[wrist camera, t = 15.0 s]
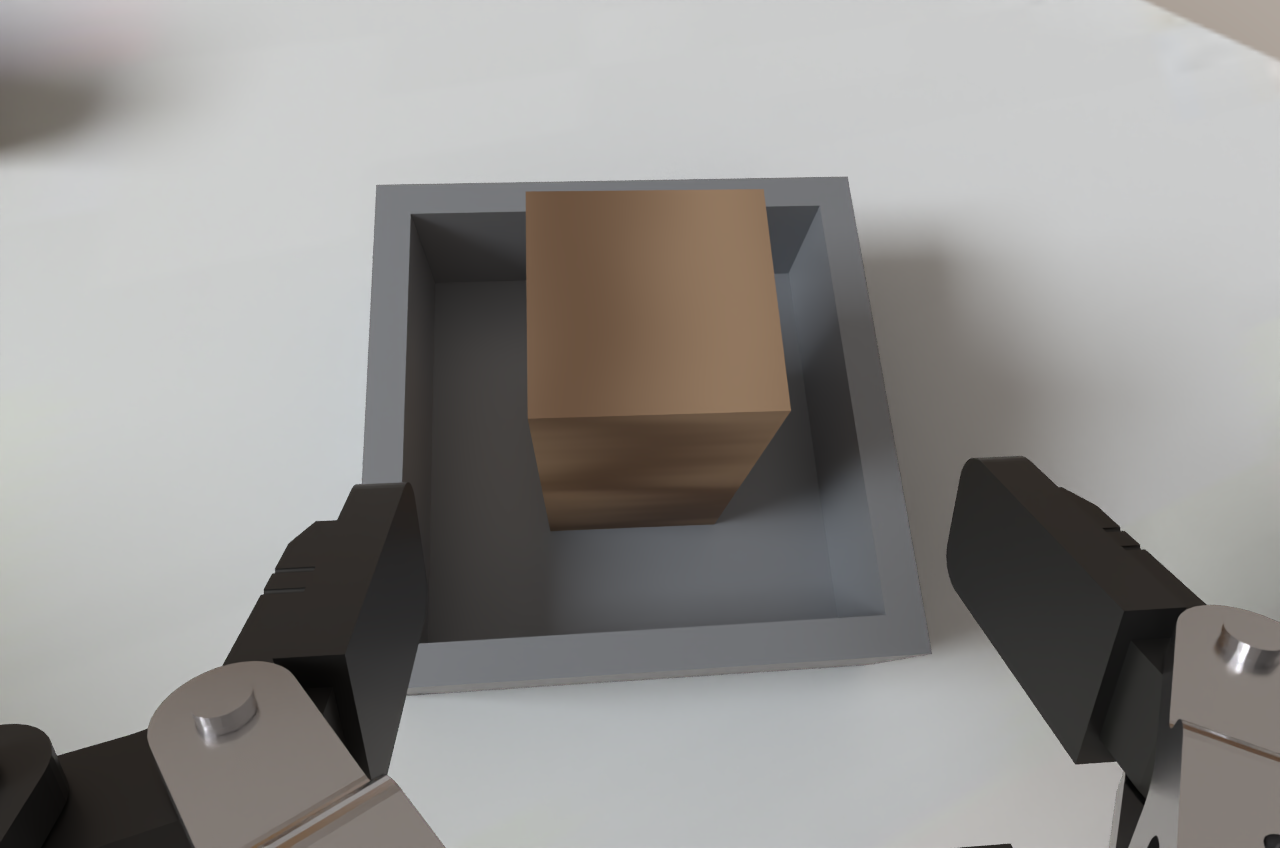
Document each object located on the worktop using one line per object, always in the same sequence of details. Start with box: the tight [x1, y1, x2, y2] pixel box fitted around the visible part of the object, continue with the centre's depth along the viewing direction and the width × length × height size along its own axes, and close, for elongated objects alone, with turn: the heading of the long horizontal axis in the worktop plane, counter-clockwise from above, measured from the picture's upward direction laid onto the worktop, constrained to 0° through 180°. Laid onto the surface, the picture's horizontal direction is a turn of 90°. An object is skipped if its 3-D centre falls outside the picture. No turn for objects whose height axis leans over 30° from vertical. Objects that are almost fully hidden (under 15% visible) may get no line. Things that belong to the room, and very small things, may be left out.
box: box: [362, 177, 932, 695], centre depth 24 cm, size 14×14×5 cm
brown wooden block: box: [526, 189, 791, 531], centre depth 21 cm, size 5×5×10 cm
